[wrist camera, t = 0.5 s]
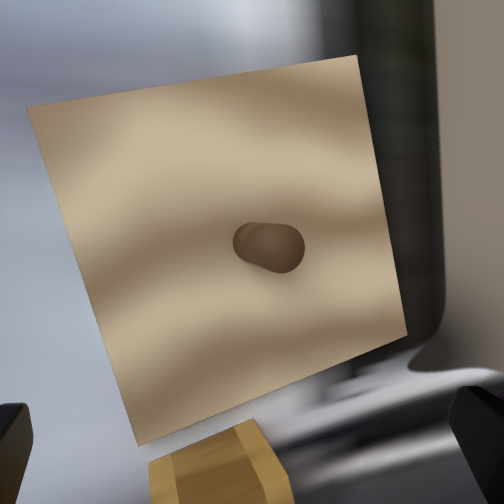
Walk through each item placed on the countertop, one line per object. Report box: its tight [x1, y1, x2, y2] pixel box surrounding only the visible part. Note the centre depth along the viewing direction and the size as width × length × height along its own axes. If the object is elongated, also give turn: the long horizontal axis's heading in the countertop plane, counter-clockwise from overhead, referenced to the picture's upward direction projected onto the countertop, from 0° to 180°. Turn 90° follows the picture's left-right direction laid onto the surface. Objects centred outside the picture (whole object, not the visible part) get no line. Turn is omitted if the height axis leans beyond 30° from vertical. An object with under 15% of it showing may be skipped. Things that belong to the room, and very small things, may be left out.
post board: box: [26, 55, 407, 447], centre depth 18 cm, size 16×16×6 cm
